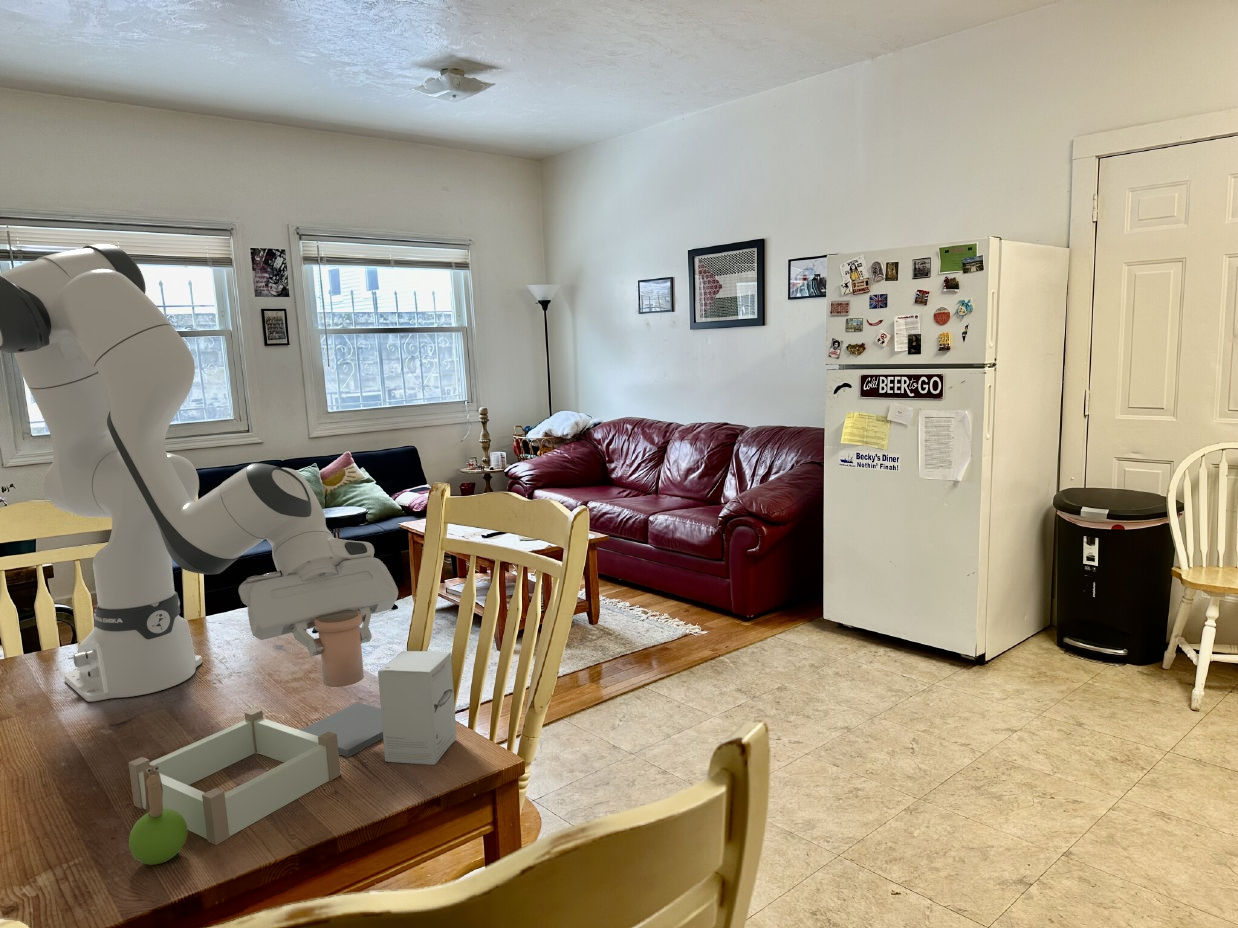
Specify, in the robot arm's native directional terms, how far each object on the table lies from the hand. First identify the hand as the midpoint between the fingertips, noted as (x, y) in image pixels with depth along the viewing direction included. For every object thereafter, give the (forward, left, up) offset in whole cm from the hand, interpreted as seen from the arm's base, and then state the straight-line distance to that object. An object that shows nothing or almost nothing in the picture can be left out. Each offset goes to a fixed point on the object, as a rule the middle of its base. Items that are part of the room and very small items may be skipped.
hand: (342, 646), depth 113 cm
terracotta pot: (-1, 0, -5) cm, 5 cm away
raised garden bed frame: (-1, -16, -13) cm, 21 cm away
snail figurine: (+5, -29, -13) cm, 33 cm away
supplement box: (+12, +2, -13) cm, 18 cm away
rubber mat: (-1, +1, -13) cm, 13 cm away
